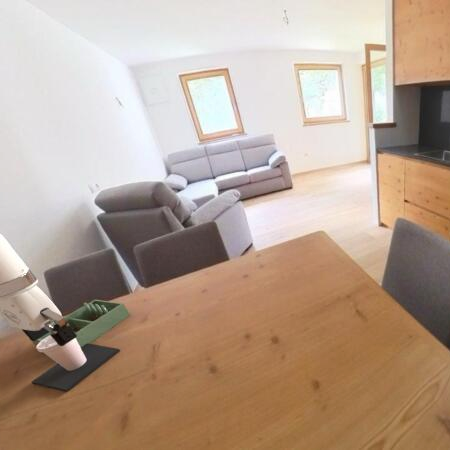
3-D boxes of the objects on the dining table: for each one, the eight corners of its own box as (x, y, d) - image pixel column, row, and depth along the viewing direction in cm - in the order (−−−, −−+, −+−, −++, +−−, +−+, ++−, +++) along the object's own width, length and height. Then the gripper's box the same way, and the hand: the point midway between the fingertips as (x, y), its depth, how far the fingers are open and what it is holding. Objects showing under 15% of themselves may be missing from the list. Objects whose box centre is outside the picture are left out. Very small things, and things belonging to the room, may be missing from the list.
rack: (39, 350, 80) (23, 333, 77) (102, 310, 94) (91, 294, 91) (70, 356, 77) (55, 338, 74) (130, 314, 91) (119, 298, 88)
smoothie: (98, 358, 75) (67, 320, 69) (65, 379, 70) (29, 340, 64) (87, 351, 78) (57, 313, 72) (54, 370, 73) (19, 332, 66)
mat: (32, 383, 70) (30, 381, 70) (88, 345, 81) (87, 343, 80) (67, 391, 68) (65, 389, 68) (120, 350, 78) (118, 348, 78)
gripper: (-44, 291, 60) (9, 346, 68) (11, 299, 57) (61, 356, 65) (6, 271, 67) (49, 323, 75) (58, 277, 63) (98, 331, 71)
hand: (55, 338), depth 70 cm, fingers open, 9 cm apart
